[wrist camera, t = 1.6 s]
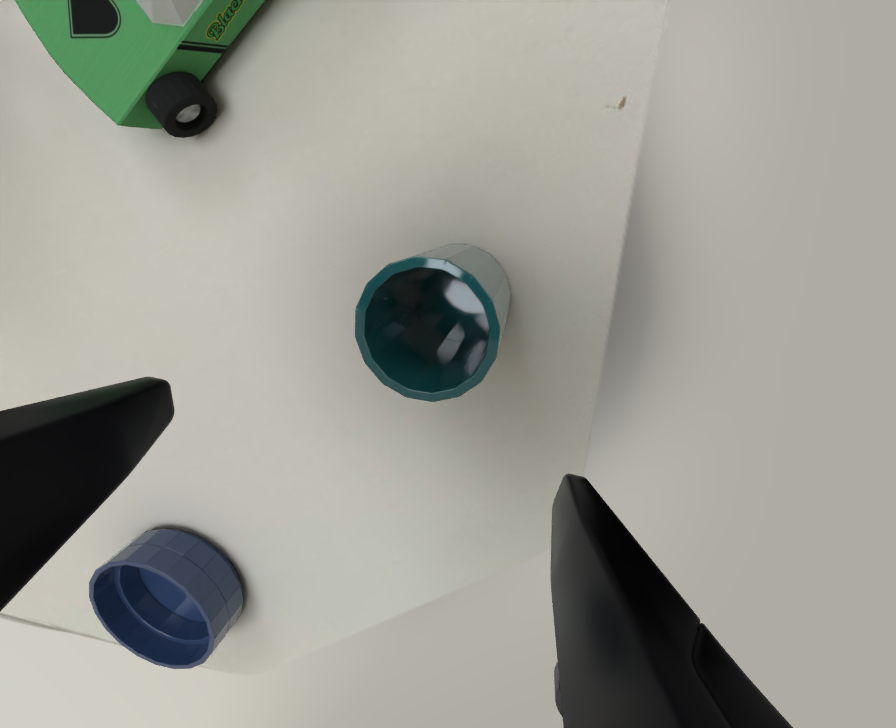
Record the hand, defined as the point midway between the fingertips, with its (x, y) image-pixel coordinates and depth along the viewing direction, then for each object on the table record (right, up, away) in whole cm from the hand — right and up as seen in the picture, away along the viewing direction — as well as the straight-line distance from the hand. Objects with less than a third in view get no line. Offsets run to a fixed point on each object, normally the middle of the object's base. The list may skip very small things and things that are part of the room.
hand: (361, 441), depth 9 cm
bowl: (-20, -16, +26) cm, 37 cm away
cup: (+3, +5, +14) cm, 15 cm away
